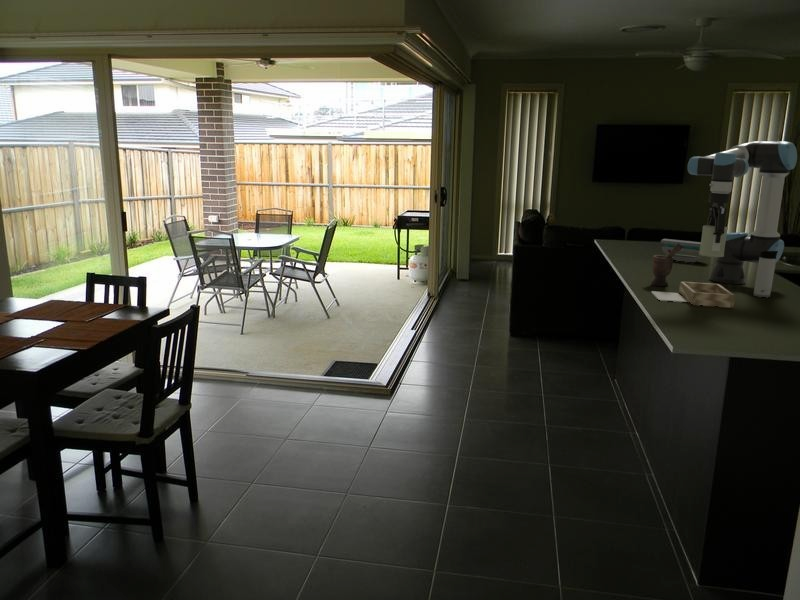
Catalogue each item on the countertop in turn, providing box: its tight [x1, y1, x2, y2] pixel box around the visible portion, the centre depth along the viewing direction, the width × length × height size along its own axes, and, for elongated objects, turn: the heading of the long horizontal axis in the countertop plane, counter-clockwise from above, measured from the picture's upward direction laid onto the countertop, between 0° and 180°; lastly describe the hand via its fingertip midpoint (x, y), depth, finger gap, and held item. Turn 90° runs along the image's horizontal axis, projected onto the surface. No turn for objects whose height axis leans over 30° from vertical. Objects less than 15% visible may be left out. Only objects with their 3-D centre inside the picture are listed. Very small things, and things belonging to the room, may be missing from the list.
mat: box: [651, 290, 689, 303], centre depth 269 cm, size 11×16×1 cm
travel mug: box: [753, 251, 778, 299], centre depth 275 cm, size 6×7×20 cm
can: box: [698, 224, 729, 258], centre depth 261 cm, size 9×9×12 cm
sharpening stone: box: [660, 238, 704, 263], centre depth 362 cm, size 25×8×11 cm, turn 57°
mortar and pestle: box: [650, 243, 683, 287], centre depth 291 cm, size 12×9×20 cm
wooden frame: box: [678, 281, 736, 309], centre depth 266 cm, size 15×22×5 cm
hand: (712, 249), depth 261 cm, fingers closed on can, 9 cm apart
